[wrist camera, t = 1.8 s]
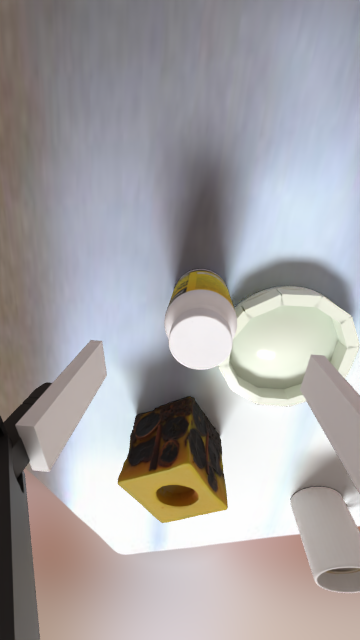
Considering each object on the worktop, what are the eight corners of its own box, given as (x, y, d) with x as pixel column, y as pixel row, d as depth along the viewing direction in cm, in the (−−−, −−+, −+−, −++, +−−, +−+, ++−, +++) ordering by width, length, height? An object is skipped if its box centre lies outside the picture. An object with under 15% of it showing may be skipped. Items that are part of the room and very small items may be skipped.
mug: (285, 490, 41) (309, 569, 32) (342, 481, 38) (385, 564, 29) (298, 521, 45) (322, 599, 36) (350, 515, 42) (391, 597, 33)
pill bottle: (182, 260, 25) (170, 292, 15) (235, 277, 25) (259, 319, 15) (167, 310, 28) (149, 365, 18) (216, 324, 28) (225, 386, 18)
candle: (135, 414, 36) (113, 482, 27) (191, 392, 33) (188, 460, 24) (168, 453, 39) (159, 525, 30) (222, 437, 36) (229, 511, 27)
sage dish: (223, 282, 26) (226, 290, 23) (363, 289, 25) (381, 297, 22) (212, 386, 32) (213, 401, 29) (322, 394, 31) (333, 410, 28)
